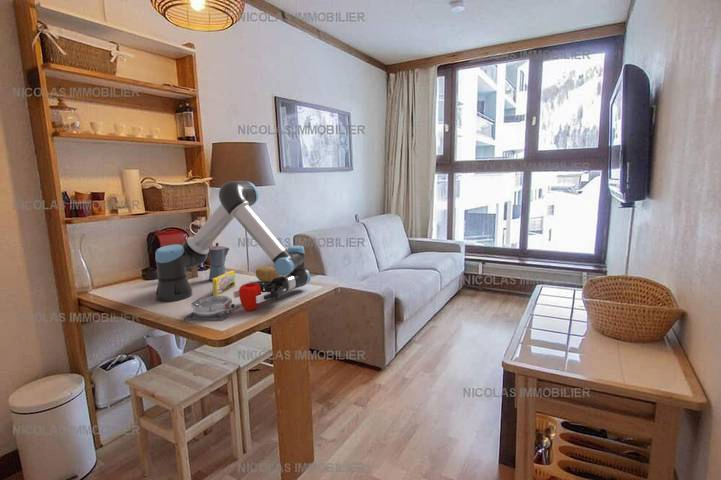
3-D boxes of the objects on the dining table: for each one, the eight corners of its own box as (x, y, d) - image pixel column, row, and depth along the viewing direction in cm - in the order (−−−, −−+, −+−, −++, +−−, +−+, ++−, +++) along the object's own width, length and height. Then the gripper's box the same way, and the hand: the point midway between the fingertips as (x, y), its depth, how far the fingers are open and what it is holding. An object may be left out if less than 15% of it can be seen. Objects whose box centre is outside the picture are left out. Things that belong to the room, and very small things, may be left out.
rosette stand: (184, 320, 142) (183, 307, 141) (204, 306, 157) (203, 295, 156) (222, 320, 141) (221, 307, 140) (238, 307, 156) (237, 295, 155)
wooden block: (198, 276, 208) (195, 245, 205) (180, 281, 199) (176, 248, 196) (194, 275, 210) (191, 244, 207) (176, 280, 201) (172, 247, 198)
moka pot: (231, 280, 198) (228, 243, 195) (200, 282, 195) (196, 245, 192) (233, 276, 207) (230, 240, 204) (203, 278, 204) (200, 242, 201)
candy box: (216, 296, 171) (215, 279, 170) (212, 296, 172) (211, 279, 170) (235, 286, 187) (234, 270, 185) (232, 286, 187) (230, 270, 186)
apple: (260, 312, 148) (258, 286, 147) (237, 313, 148) (235, 287, 146) (264, 305, 157) (262, 280, 155) (243, 306, 156) (241, 281, 155)
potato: (263, 278, 201) (262, 264, 199) (285, 280, 195) (284, 266, 193) (251, 283, 192) (250, 268, 191) (273, 285, 186) (272, 270, 185)
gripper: (304, 296, 161) (267, 311, 143) (264, 288, 174) (225, 301, 156) (303, 279, 159) (266, 292, 142) (263, 272, 173) (224, 284, 155)
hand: (245, 297), depth 149 cm, fingers open, 13 cm apart
